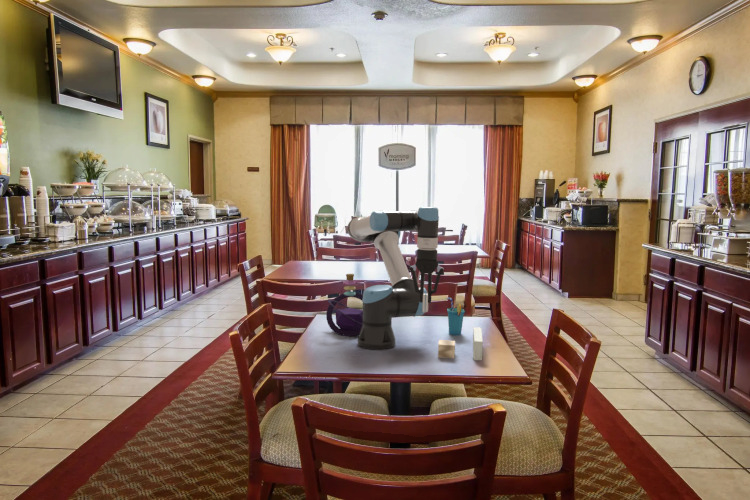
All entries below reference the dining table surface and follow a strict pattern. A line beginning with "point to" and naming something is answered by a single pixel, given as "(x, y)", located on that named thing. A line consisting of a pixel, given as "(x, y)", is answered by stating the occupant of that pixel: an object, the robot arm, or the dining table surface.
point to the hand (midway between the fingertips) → (425, 311)
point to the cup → (455, 319)
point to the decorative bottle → (346, 312)
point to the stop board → (477, 343)
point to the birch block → (446, 349)
